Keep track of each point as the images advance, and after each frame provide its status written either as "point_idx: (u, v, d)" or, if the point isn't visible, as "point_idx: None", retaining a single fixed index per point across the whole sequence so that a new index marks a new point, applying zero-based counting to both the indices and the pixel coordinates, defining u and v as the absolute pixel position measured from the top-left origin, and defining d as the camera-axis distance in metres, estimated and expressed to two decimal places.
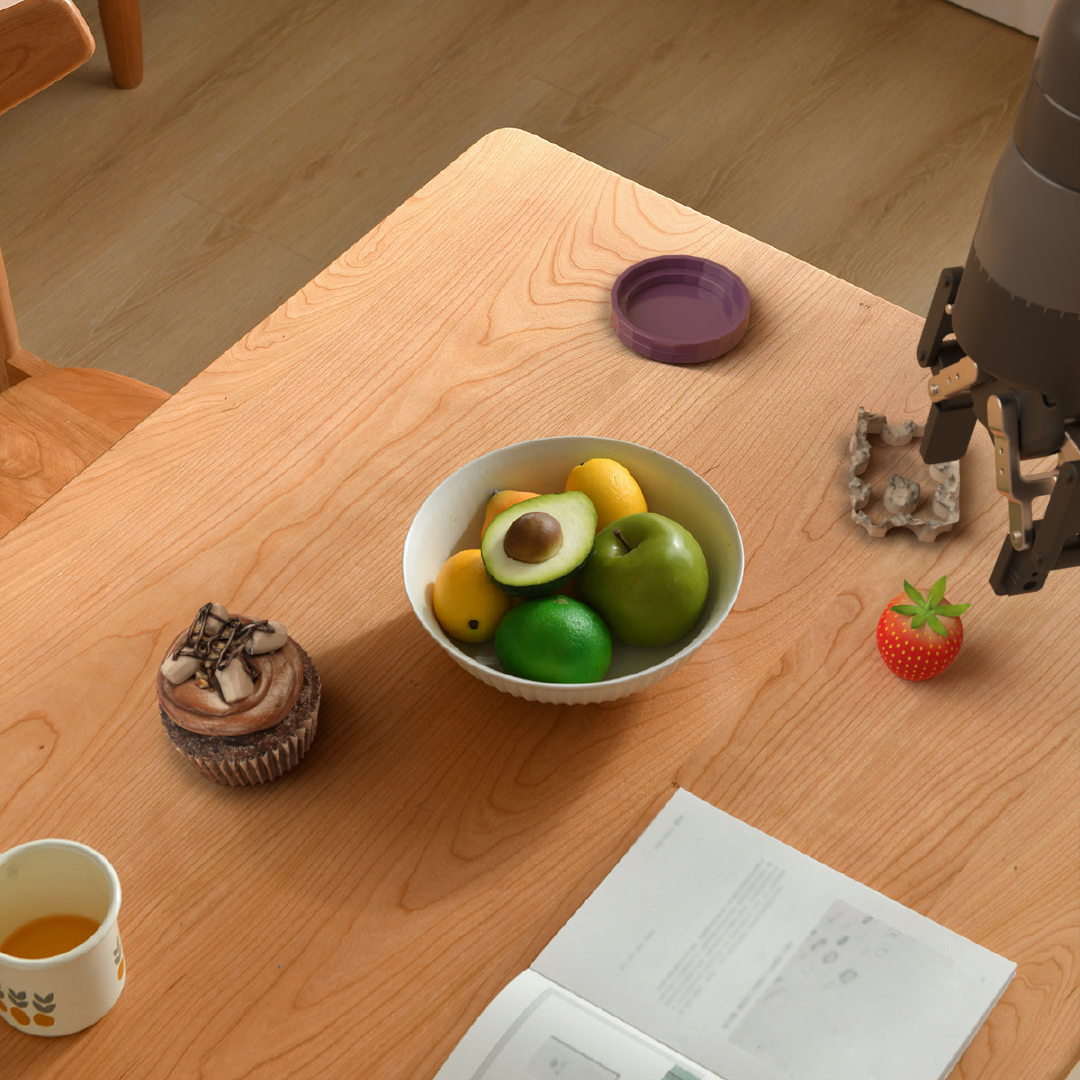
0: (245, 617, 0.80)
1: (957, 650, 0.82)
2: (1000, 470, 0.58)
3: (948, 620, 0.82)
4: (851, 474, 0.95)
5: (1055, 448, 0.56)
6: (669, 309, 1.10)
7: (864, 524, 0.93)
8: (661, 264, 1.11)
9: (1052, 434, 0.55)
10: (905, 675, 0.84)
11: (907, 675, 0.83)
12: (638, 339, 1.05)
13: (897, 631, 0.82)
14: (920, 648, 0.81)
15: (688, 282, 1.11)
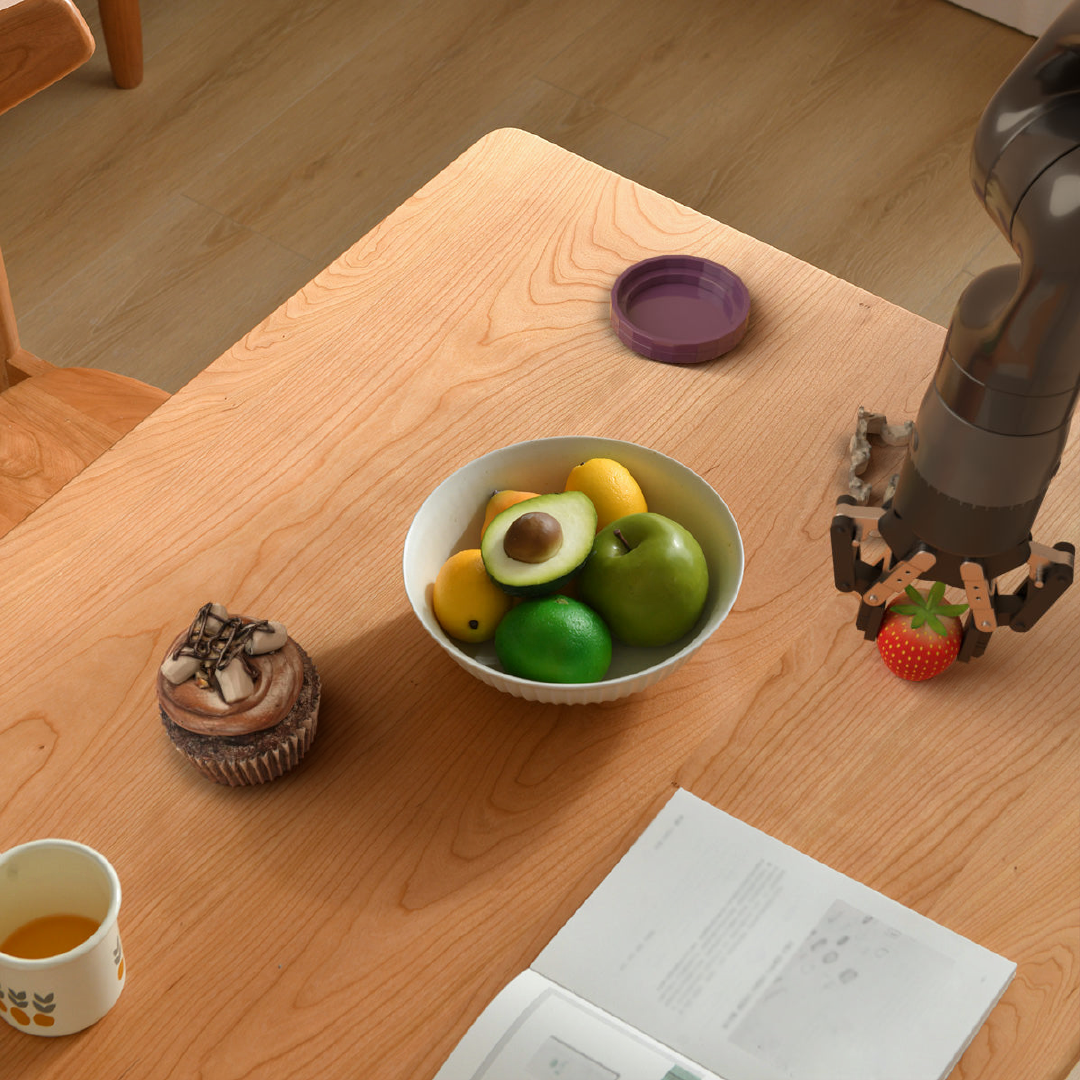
0: (245, 617, 0.80)
1: (957, 650, 0.82)
2: (974, 598, 0.78)
3: (948, 620, 0.82)
4: (851, 474, 0.95)
5: (1027, 560, 0.76)
6: (669, 309, 1.10)
7: None
8: (661, 264, 1.11)
9: (1027, 555, 0.75)
10: (905, 675, 0.84)
11: (907, 675, 0.83)
12: (638, 339, 1.05)
13: (897, 631, 0.82)
14: (920, 648, 0.81)
15: (688, 282, 1.11)
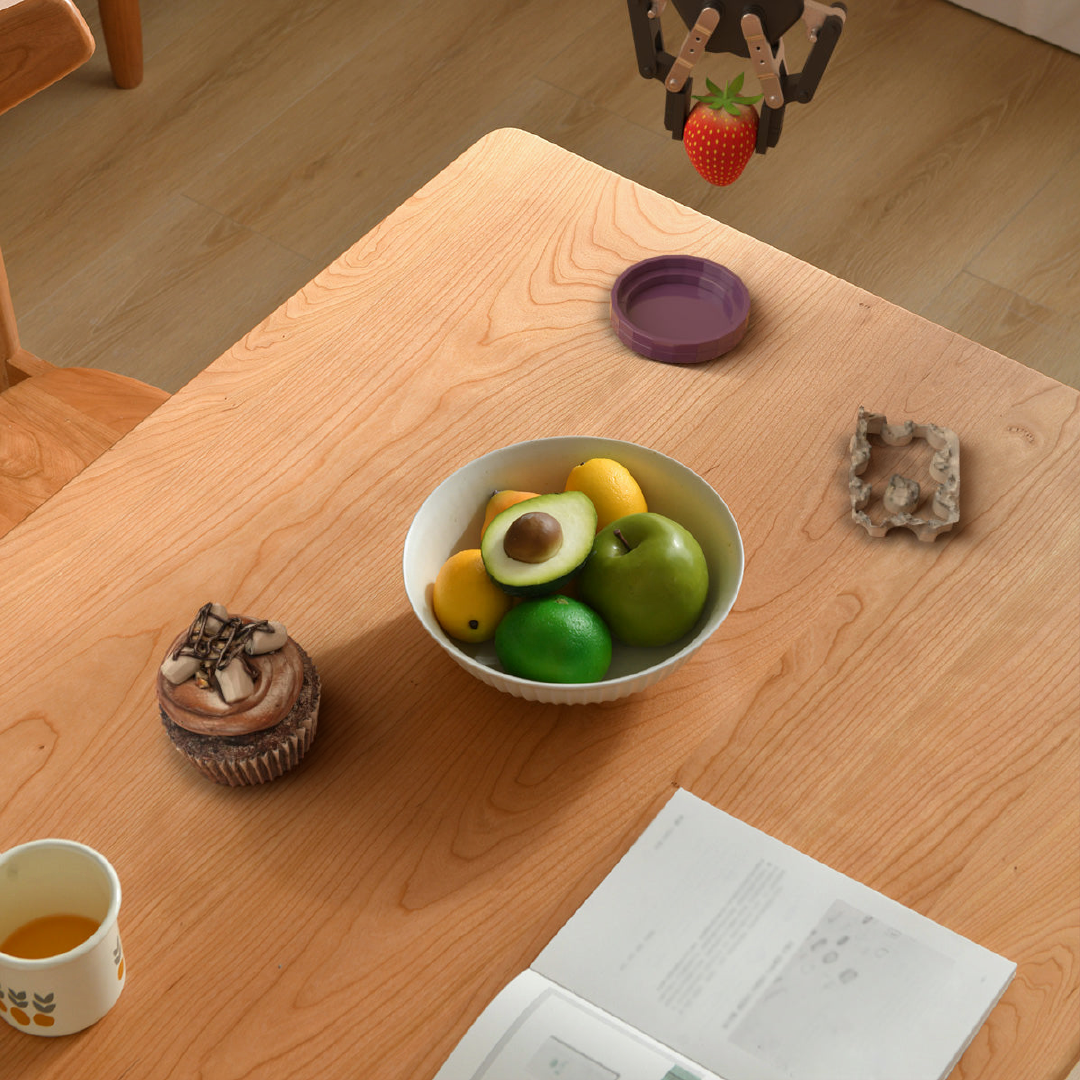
0: (245, 617, 0.80)
1: (753, 138, 0.90)
2: (759, 62, 0.85)
3: (743, 107, 0.89)
4: (851, 474, 0.95)
5: (801, 15, 0.83)
6: (669, 309, 1.10)
7: (864, 524, 0.93)
8: (661, 264, 1.11)
9: (800, 6, 0.83)
10: (708, 167, 0.91)
11: (710, 167, 0.91)
12: (638, 339, 1.05)
13: (697, 119, 0.89)
14: (717, 131, 0.89)
15: (688, 282, 1.11)
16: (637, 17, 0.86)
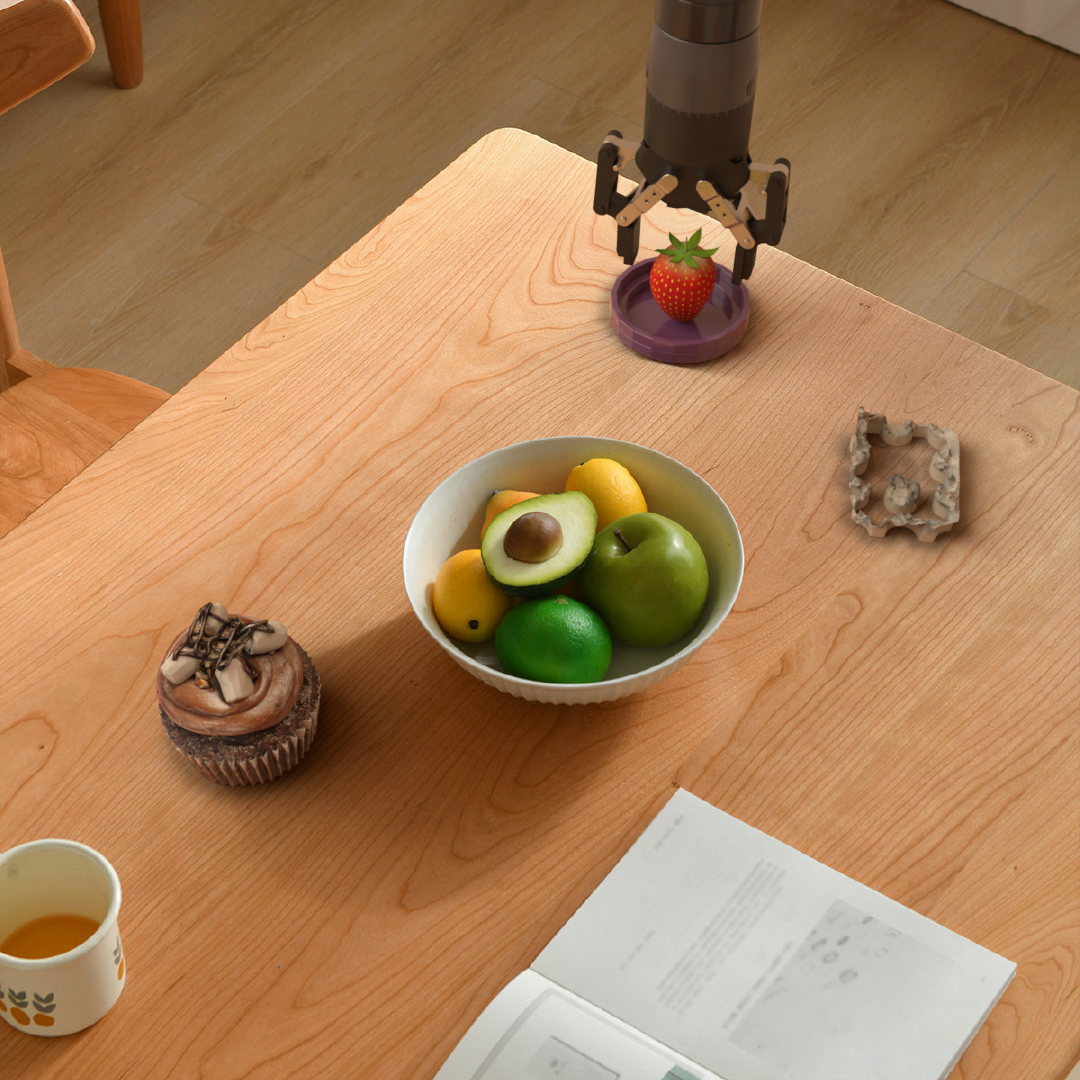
0: (245, 617, 0.80)
1: (709, 285, 1.04)
2: (722, 216, 0.99)
3: (700, 259, 1.03)
4: (851, 474, 0.95)
5: None
6: None
7: (864, 524, 0.93)
8: None
9: (746, 174, 0.96)
10: (671, 309, 1.05)
11: (672, 309, 1.05)
12: (638, 339, 1.05)
13: (661, 269, 1.04)
14: (678, 280, 1.03)
15: None
16: (603, 167, 0.99)
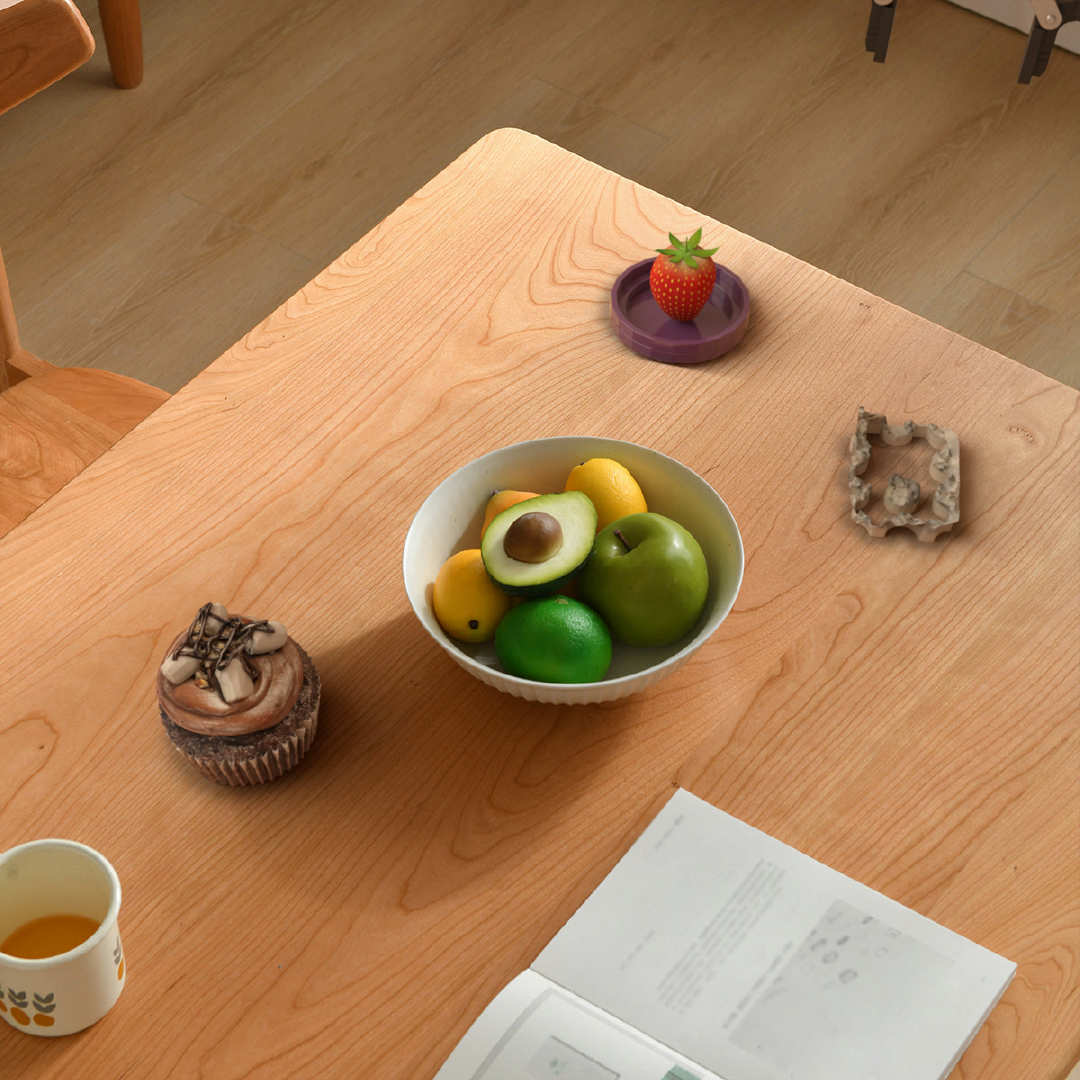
0: (245, 617, 0.80)
1: (709, 285, 1.04)
2: None
3: (700, 259, 1.03)
4: (851, 474, 0.95)
5: None
6: None
7: (864, 524, 0.93)
8: None
9: None
10: (671, 309, 1.05)
11: (672, 309, 1.05)
12: (638, 339, 1.05)
13: (661, 269, 1.04)
14: (678, 280, 1.03)
15: None
16: None
